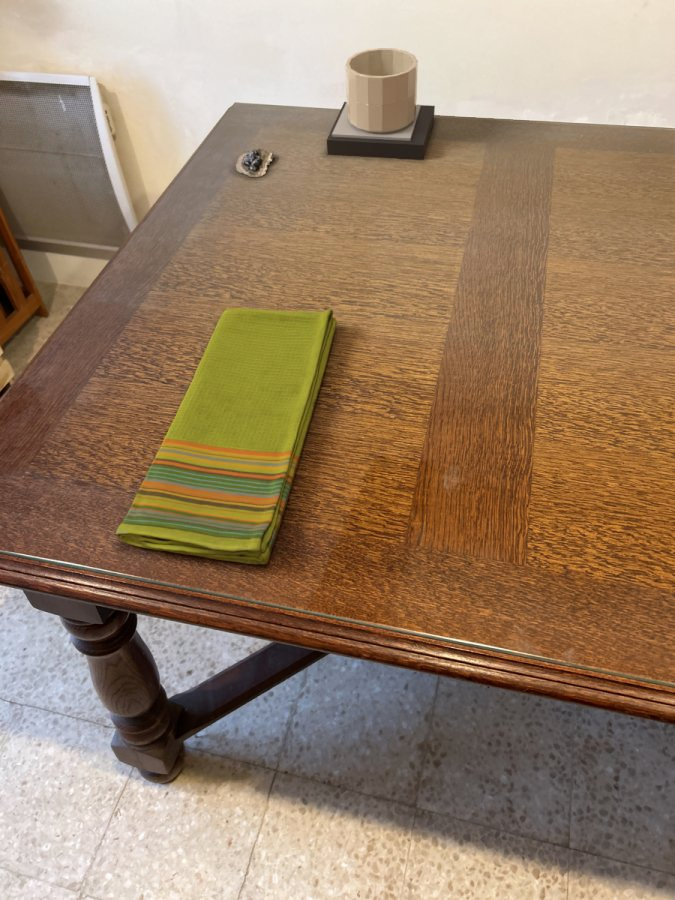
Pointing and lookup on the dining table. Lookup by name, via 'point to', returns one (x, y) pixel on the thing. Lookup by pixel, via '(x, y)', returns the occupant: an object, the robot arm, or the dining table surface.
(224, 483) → the dish towel
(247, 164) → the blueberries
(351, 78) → the beige faceted pot
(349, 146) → the scale
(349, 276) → the dining table surface
